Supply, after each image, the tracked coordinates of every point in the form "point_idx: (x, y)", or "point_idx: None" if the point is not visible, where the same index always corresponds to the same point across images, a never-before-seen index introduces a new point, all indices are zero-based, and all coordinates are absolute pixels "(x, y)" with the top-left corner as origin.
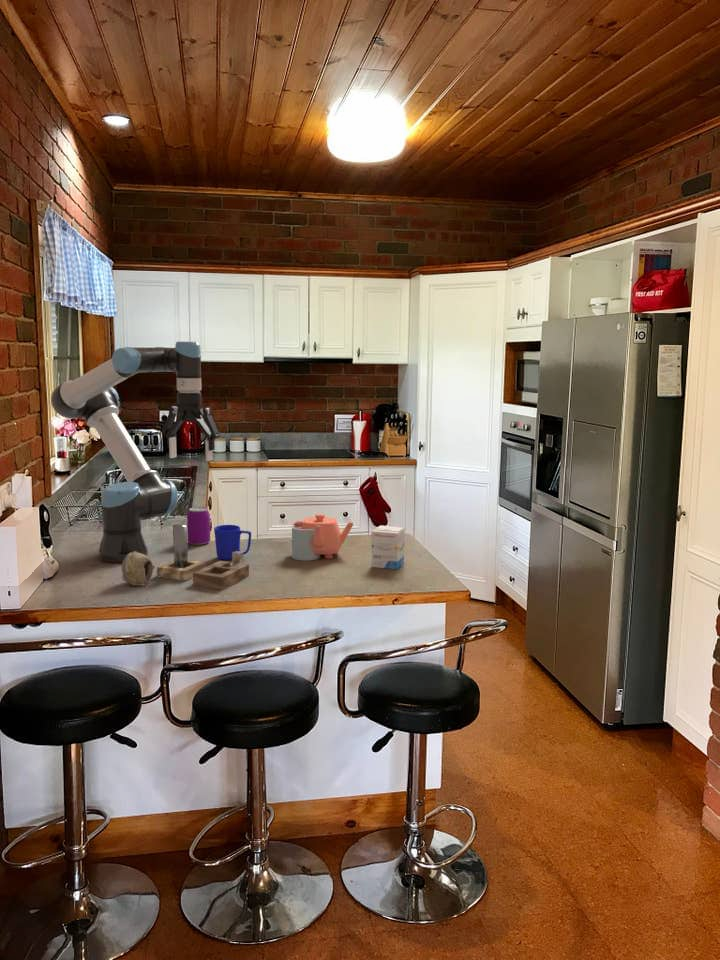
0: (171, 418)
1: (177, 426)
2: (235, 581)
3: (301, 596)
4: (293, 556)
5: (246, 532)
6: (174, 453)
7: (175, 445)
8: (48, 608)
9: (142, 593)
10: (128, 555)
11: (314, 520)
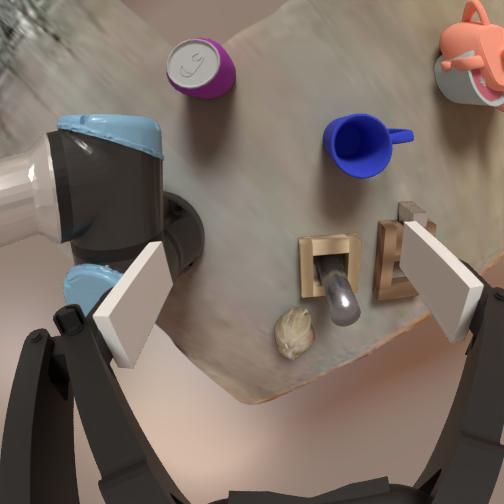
0: (69, 491)
1: (146, 441)
2: None
3: (498, 257)
4: (447, 96)
5: (407, 141)
6: (158, 271)
7: (137, 287)
8: (266, 399)
9: (327, 341)
10: (291, 359)
11: (499, 59)
